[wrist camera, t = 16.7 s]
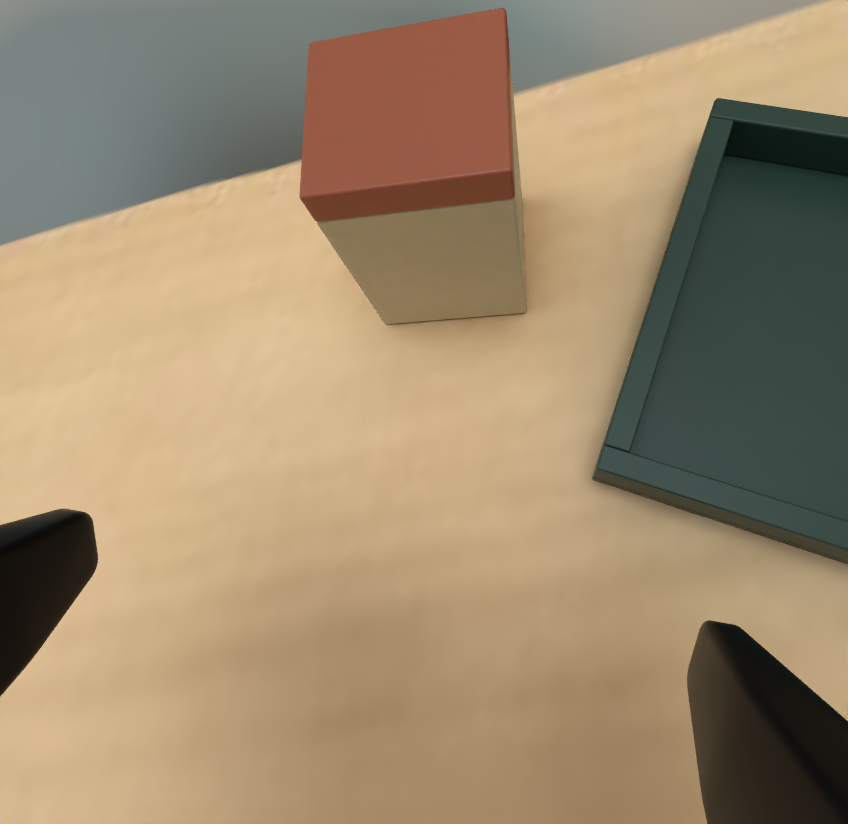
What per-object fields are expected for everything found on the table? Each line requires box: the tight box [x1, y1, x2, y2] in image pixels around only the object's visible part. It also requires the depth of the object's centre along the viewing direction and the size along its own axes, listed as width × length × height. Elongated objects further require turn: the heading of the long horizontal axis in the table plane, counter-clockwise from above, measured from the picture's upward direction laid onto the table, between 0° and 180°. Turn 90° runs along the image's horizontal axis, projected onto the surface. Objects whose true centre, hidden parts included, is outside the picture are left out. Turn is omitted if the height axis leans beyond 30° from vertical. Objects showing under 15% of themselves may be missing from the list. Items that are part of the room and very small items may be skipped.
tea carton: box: [300, 8, 527, 324], centre depth 20 cm, size 5×6×8 cm
